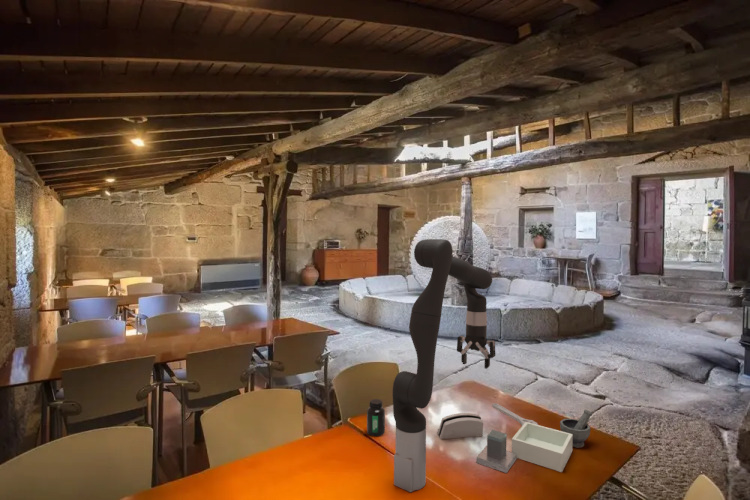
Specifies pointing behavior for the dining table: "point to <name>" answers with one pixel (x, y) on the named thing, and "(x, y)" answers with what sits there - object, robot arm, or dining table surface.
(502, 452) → the grey rectangular block
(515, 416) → the adjustable wrench
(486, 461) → the stud plate
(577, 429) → the mortar and pestle
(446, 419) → the napkin holder
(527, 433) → the bin
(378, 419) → the supplement bottle
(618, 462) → the dining table surface
